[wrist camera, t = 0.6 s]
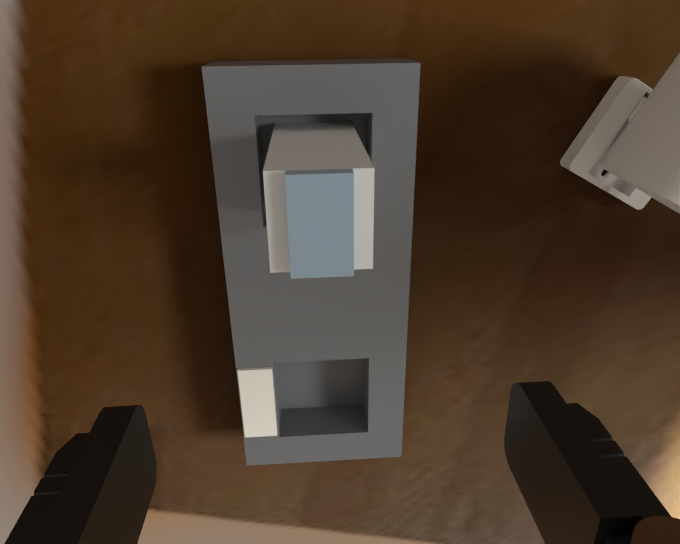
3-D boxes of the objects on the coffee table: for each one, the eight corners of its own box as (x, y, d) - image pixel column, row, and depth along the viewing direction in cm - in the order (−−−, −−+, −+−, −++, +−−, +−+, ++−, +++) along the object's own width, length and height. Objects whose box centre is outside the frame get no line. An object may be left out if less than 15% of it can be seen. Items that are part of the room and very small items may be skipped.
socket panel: (407, 58, 28) (421, 62, 25) (393, 422, 38) (401, 458, 35) (212, 61, 27) (200, 66, 24) (251, 430, 37) (246, 467, 34)
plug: (351, 120, 28) (376, 172, 19) (351, 194, 30) (374, 275, 20) (274, 122, 28) (261, 175, 19) (279, 196, 30) (269, 279, 20)
